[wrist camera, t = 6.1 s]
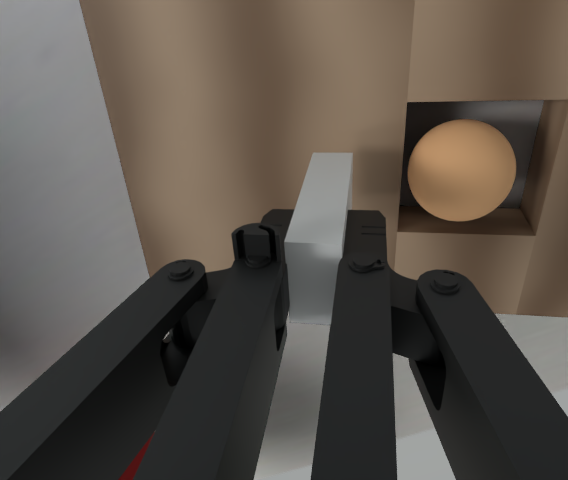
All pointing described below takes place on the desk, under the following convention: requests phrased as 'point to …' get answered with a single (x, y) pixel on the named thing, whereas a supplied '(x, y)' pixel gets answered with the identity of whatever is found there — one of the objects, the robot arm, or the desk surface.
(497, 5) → the board
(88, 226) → the desk surface
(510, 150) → the ball
